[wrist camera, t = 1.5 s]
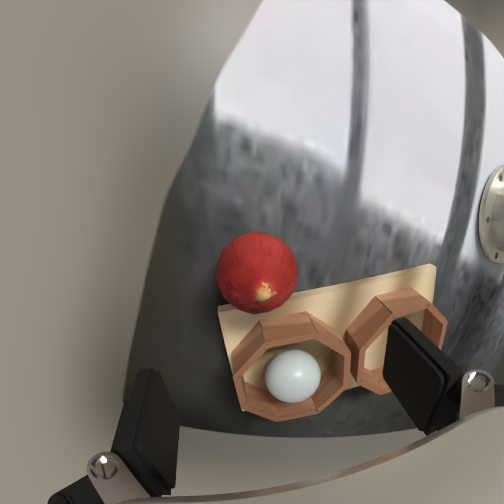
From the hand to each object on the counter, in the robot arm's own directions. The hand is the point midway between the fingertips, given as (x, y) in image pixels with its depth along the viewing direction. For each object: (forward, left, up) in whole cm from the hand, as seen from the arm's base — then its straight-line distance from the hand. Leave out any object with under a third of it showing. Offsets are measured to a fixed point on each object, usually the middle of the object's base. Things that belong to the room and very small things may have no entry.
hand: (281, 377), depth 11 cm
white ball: (-2, +11, -14) cm, 17 cm away
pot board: (-8, +11, -15) cm, 20 cm away
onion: (0, 0, -15) cm, 15 cm away
